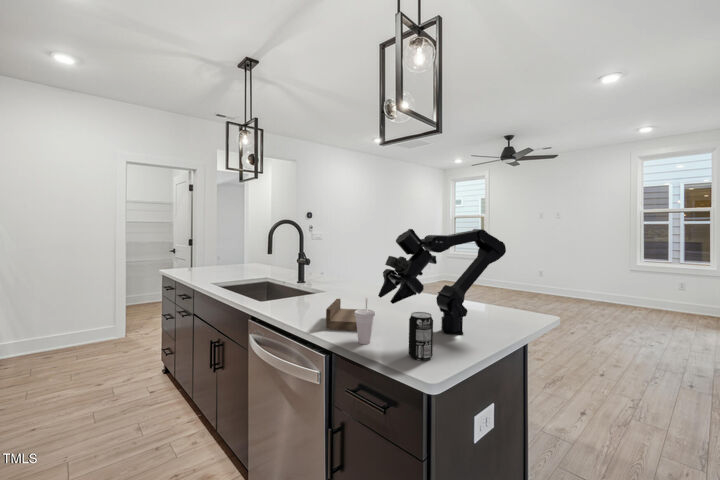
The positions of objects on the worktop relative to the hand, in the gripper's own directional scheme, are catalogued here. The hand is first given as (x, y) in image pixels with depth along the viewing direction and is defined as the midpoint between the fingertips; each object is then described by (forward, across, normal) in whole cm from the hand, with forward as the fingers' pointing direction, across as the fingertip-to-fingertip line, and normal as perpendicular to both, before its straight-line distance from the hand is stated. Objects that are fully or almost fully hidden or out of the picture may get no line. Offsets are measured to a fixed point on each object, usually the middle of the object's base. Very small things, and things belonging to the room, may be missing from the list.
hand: (385, 299), depth 107 cm
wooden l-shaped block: (+12, -21, +6) cm, 25 cm away
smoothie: (+14, 0, +4) cm, 15 cm away
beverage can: (+7, +16, +12) cm, 21 cm away
